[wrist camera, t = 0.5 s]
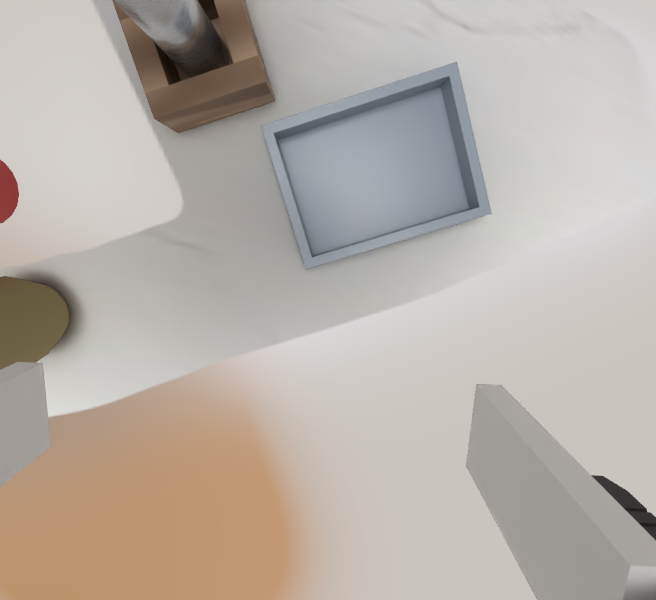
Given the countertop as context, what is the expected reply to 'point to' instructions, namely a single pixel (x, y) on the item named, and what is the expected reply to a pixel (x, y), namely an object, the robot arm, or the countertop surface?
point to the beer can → (7, 192)
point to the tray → (379, 166)
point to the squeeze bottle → (29, 320)
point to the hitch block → (209, 88)
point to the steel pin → (180, 32)
